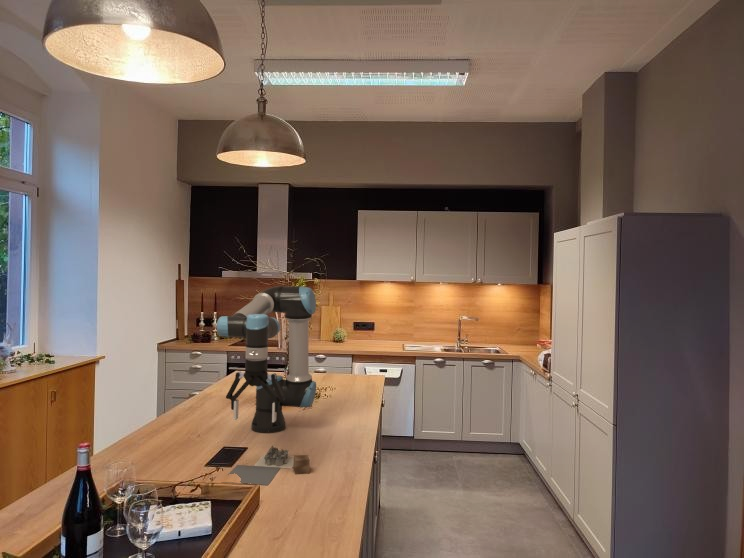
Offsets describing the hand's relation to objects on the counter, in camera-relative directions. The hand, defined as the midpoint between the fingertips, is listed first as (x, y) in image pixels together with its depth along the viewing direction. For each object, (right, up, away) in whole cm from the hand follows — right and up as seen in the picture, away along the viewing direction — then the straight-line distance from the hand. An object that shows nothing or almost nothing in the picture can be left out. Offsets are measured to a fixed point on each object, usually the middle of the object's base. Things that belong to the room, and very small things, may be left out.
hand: (254, 420), depth 183 cm
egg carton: (+5, -19, +13) cm, 23 cm away
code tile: (+5, -19, +13) cm, 23 cm away
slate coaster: (-1, -19, -1) cm, 19 cm away
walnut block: (+15, -19, +4) cm, 25 cm away
